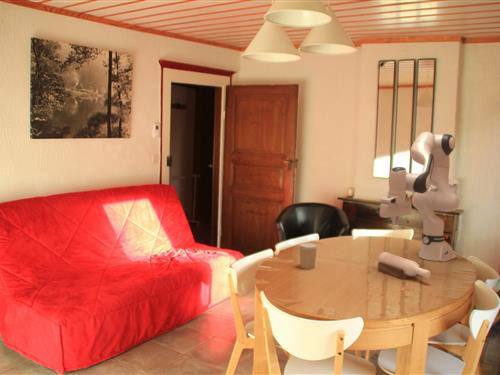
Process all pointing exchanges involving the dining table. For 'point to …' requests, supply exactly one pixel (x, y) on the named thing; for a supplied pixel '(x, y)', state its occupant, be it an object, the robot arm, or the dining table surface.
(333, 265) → the dining table surface
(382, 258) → the bottle
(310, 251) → the coffee cup
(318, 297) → the dining table surface
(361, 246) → the dining table surface
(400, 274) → the cradle
